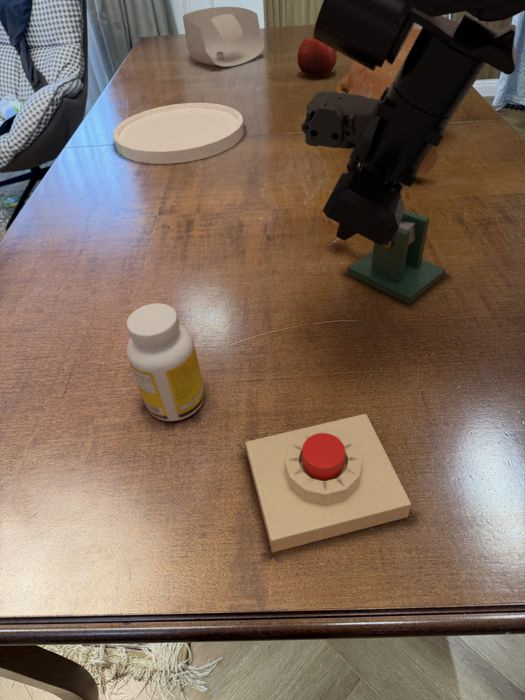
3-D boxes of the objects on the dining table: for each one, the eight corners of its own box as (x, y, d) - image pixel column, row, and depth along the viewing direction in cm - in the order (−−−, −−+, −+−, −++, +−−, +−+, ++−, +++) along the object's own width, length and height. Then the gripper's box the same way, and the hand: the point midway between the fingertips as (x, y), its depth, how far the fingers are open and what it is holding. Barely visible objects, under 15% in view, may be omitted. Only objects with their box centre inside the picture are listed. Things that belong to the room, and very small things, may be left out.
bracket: (347, 274, 69) (350, 219, 63) (383, 249, 73) (389, 196, 67) (408, 304, 63) (418, 248, 58) (444, 276, 67) (456, 220, 61)
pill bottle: (214, 383, 56) (197, 301, 48) (193, 429, 51) (170, 346, 43) (160, 374, 57) (135, 293, 49) (135, 418, 53) (104, 337, 45)
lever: (324, 230, 71) (322, 209, 69) (339, 222, 73) (338, 200, 71) (402, 252, 63) (402, 228, 61) (417, 241, 64) (418, 218, 62)
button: (297, 450, 44) (296, 438, 43) (336, 440, 45) (336, 428, 44) (309, 484, 42) (309, 473, 41) (350, 474, 42) (351, 462, 41)
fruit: (291, 74, 137) (289, 32, 130) (322, 67, 139) (323, 25, 133) (309, 84, 130) (309, 39, 123) (343, 76, 132) (344, 32, 125)
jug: (465, 56, 98) (505, 134, 79) (395, 134, 110) (415, 217, 91) (389, -11, 90) (412, 57, 71) (323, 82, 102) (328, 160, 83)
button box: (247, 455, 49) (243, 429, 46) (364, 427, 50) (367, 401, 47) (272, 553, 42) (269, 530, 39) (408, 517, 43) (414, 492, 40)
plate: (214, 168, 97) (212, 156, 95) (90, 158, 104) (87, 146, 103) (261, 116, 115) (260, 105, 114) (153, 111, 123) (151, 100, 121)
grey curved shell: (228, 47, 163) (224, 4, 155) (266, 57, 151) (264, 10, 143) (176, 62, 154) (169, 17, 146) (213, 73, 143) (206, 24, 135)
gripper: (361, 22, 48) (299, 163, 59) (306, 89, 35) (241, 249, 47) (464, 78, 48) (382, 207, 60) (445, 164, 36) (346, 304, 47)
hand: (340, 237), depth 53 cm, fingers closed
